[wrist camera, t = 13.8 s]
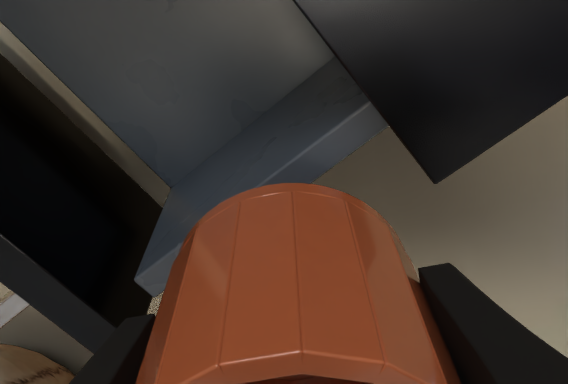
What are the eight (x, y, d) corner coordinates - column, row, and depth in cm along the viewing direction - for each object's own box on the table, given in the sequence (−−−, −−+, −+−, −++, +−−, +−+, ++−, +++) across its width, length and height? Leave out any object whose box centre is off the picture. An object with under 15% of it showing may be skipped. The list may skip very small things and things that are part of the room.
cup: (419, 355, 13) (492, 576, 9) (208, 390, 14) (175, 616, 9) (395, 159, 11) (480, 321, 6) (141, 207, 11) (52, 392, 7)
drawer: (77, 300, 22) (2, 440, 16) (-178, 95, 18) (-404, 178, 12) (423, 31, 18) (501, 86, 12) (182, -322, 14) (105, -525, 8)
